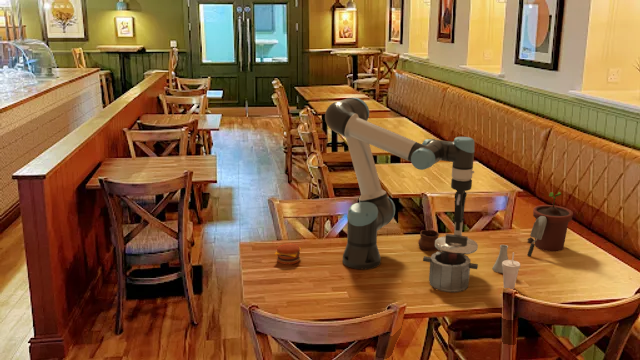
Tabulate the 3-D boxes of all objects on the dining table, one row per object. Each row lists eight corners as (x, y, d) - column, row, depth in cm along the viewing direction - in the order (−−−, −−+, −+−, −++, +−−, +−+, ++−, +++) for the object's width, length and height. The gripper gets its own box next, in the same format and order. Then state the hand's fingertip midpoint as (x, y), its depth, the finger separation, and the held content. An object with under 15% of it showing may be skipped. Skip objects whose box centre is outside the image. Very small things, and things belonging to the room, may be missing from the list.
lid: (430, 250, 234) (431, 240, 232) (439, 236, 248) (439, 226, 247) (474, 257, 228) (475, 246, 227) (480, 241, 242) (480, 231, 241)
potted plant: (578, 254, 257) (585, 196, 250) (528, 256, 254) (534, 198, 247) (556, 238, 274) (563, 184, 267) (509, 240, 271) (515, 185, 264)
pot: (418, 287, 227) (419, 262, 224) (426, 272, 240) (427, 248, 237) (472, 296, 220) (475, 270, 218) (478, 280, 233) (480, 255, 230)
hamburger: (296, 265, 245) (296, 250, 243) (273, 263, 248) (273, 248, 246) (303, 256, 254) (303, 241, 252) (280, 254, 256) (280, 239, 254)
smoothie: (508, 293, 223) (512, 256, 219) (496, 285, 229) (499, 250, 225) (521, 289, 226) (525, 253, 222) (509, 282, 231) (512, 247, 227)
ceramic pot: (425, 236, 276) (425, 221, 274) (458, 248, 263) (459, 233, 261) (398, 247, 264) (399, 232, 262) (432, 261, 252) (433, 245, 250)
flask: (512, 274, 238) (514, 250, 235) (492, 273, 239) (494, 248, 237) (510, 267, 245) (513, 243, 242) (491, 265, 246) (493, 241, 243)
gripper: (469, 184, 226) (465, 244, 233) (474, 175, 238) (469, 232, 244) (448, 182, 229) (444, 241, 235) (454, 173, 240) (450, 230, 247)
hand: (457, 237), depth 240 cm, fingers closed
